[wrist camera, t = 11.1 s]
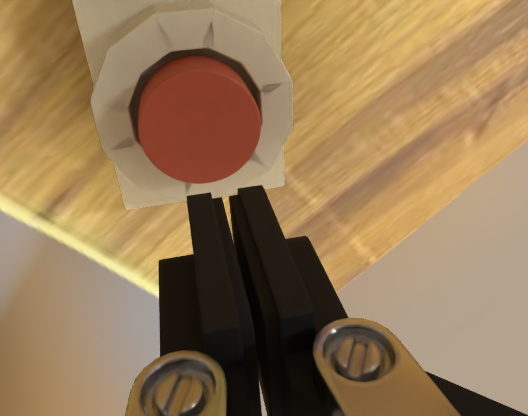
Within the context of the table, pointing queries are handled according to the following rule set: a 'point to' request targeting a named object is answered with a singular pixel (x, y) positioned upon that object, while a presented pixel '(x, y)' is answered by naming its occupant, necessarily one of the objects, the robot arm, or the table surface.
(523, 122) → the table surface
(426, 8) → the table surface
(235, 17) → the button base
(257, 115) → the red push button
